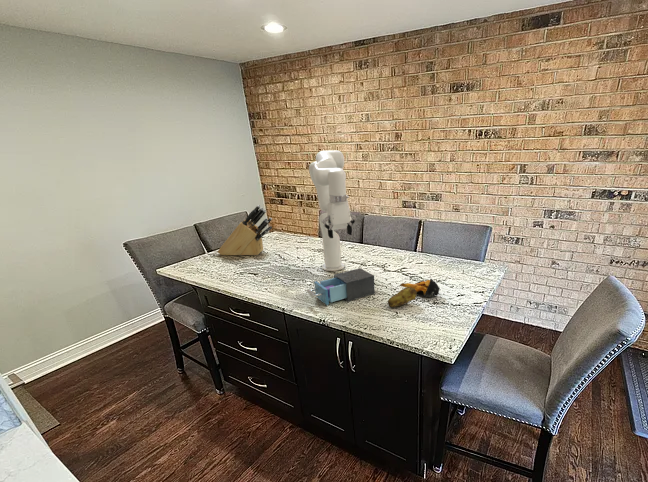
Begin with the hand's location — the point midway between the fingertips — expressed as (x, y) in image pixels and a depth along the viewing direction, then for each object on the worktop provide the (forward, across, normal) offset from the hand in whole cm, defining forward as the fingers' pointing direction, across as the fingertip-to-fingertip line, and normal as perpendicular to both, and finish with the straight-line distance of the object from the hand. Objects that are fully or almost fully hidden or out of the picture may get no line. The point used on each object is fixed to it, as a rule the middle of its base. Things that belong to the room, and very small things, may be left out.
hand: (340, 236), depth 158 cm
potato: (+26, -11, +34) cm, 44 cm away
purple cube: (+24, +12, +10) cm, 28 cm away
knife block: (+27, +25, -87) cm, 94 cm away
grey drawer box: (+26, -1, +10) cm, 28 cm away
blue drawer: (+25, +12, +10) cm, 30 cm away
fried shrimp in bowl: (+26, -25, +30) cm, 47 cm away
